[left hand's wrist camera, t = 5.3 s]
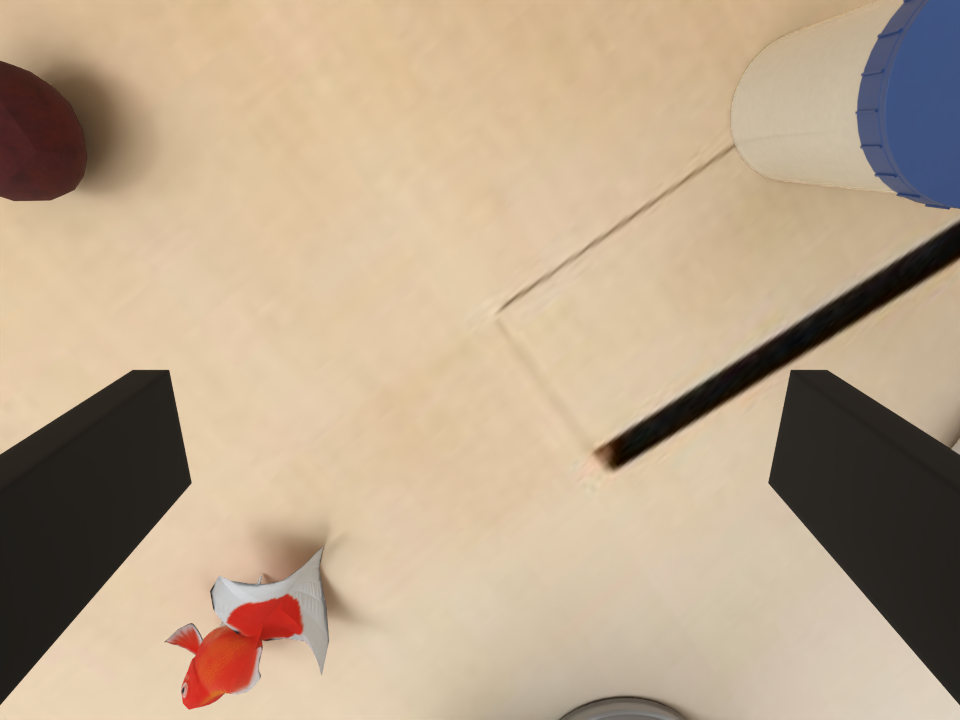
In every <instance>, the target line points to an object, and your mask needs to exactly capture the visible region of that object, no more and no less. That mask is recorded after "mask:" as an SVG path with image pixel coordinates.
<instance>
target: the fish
mask: <svg viewBox="0 0 960 720" xmlns="http://www.w3.org/2000/svg"><path fill="white" fill-rule="evenodd" d="M323 548H324V546H323V547H322V548H321V549H319V550H318V551H317V552H316V553H315V554H314V555H313V556H312V558H311V559H310V560H309V561H308V562H307V563H306V564H305V565H304V566H302V567H301V568H300V569H298V570H297V571H296V572H294V573H293V574H292V575H290V576H289V577H287V578H286V579H284V580H283V581H279V582H274V583H270V584H260V582H261V576H260V578H259V581H258V583H257V584H247V583H241V582H235V581H230V580H228V579H226V578H223V577H221V576H219V577H218V579H217V580H216V582H215V584H214V586H213V587H212V589H211V591H210V593H211V598H212V604H213V609H214V611H215V612H216V614H217V615H218V617H219V618H220V619H221V620H222V621H223V622H222V624H221V626H220V627H219V628H216V629H214V630H213V631H212V632H210V633H209V634H208V635H207V636H206V637H205V638H204V640H203V639H202V637H201V635H200V633H199V631H198V629H197V628H196V627H195V625H194V624H192V623H190V624H188V625H186V626H184V627H182V628H180V629H178V630H177V631H176V632H175V633H174V634H173V635H172V636H171V637H170V638H169V639H167V640H166V641H165V642H168V643H170V644H173V645H178V646H180V647H183V648H186V649H187V650H189V651H190V652H192V653H193V654H195V655H196V656H195V657H194V658H193V659H192V661H191V664H190V666H189V669H188V672H187V674H186V676H185V679H184V682H183V685H182V690H181V693H182V699H183V704H184V705H185V706H186V707H187V708H188V709H189V710H190V709H193V708H198V707H202V706H206V705H209V704H211V703H213V702H215V701H217V700H218V699H219V698H220V697H222V695H223V694H224V693H229V694H241V693H244V692H248V691H249V690H250V689H251V688H253V687H254V686H255V684H256V683H257V682H258V680H259V679H260V677H261V675H260V673H259V662H260V657H261V653H262V640H264V641H269V640H277V639H284V638H288V639H293V640H300V641H305V642H306V643H307V644H308V645H309V647H310V648H311V649H312V651H313V653H314V655H315V657H316V659H317V661H318V664H319V667H320V671H321V676H322V671H323V667H324V662H325V657H326V653H327V648H328V643H329V634H328V622H327V610H326V603H325V598H324V592H323V587H322V582H321V575H320V569H319V566H320V561H321V556H322V550H323Z"/></svg>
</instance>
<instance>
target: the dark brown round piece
mask: <svg viewBox="0 0 960 720" xmlns="http://www.w3.org/2000/svg"><path fill="white" fill-rule="evenodd" d="M86 160H87V153H86V147H85V141H84V135H83V130H82V127H81V125H80V123H79V121H78V119H77V117H76V115H75V113H74V111H73V109H72V106H71V104H70V103H69V102H68V101H67V100H66V99H65V98H64V97H63V96H62V95H61V94H60V93H59V92H58V91H57V90H56V89H55V88H53V87H52V86H51V85H49V84H48V83H46V82H45V81H43V80H42V79H40V78H39V77H37V76H36V75H34V74H33V73H31V72H30V71H27V70H24V69H22V68H19V67H17V66H14V65H11V64H8V63H5V62H2V61H0V197H3V198H6V199H10V200H13V201H44V200H53V199H55V198H58V197H60V196H62V195H64V194H66V193H69V192H71V191H73V190H75V188H76V187H77V185H78V184H79V182H80V181H81V179H82V178H83V176H84V172H85V166H86Z"/></svg>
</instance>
